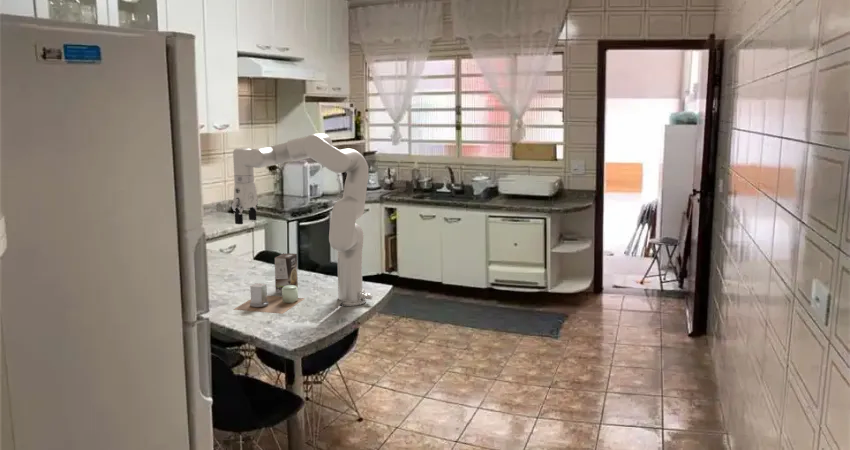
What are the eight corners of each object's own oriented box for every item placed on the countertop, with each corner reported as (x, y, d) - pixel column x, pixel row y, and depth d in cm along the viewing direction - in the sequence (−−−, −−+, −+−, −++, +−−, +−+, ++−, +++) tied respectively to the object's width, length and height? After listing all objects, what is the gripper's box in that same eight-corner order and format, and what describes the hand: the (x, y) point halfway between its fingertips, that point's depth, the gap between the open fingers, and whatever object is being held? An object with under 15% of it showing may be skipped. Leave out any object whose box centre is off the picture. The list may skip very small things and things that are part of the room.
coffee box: (290, 297, 278) (288, 258, 275) (275, 296, 279) (273, 257, 276) (298, 291, 287) (297, 253, 284) (284, 290, 288) (282, 252, 285)
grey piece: (271, 303, 265) (270, 283, 263) (263, 308, 258) (262, 288, 257) (255, 302, 266) (254, 282, 265) (246, 307, 260) (245, 286, 258)
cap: (300, 299, 270) (300, 285, 269) (294, 304, 264) (293, 289, 263) (286, 298, 271) (286, 284, 270) (279, 302, 265) (279, 288, 264)
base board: (305, 302, 272) (305, 298, 271) (282, 317, 253) (282, 313, 252) (258, 298, 276) (258, 294, 276) (233, 313, 257) (233, 309, 257)
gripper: (239, 182, 264) (241, 226, 268) (264, 177, 281) (265, 219, 284) (223, 181, 267) (225, 225, 270) (248, 176, 283) (249, 217, 286)
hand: (245, 221), depth 277 cm, fingers open, 9 cm apart
